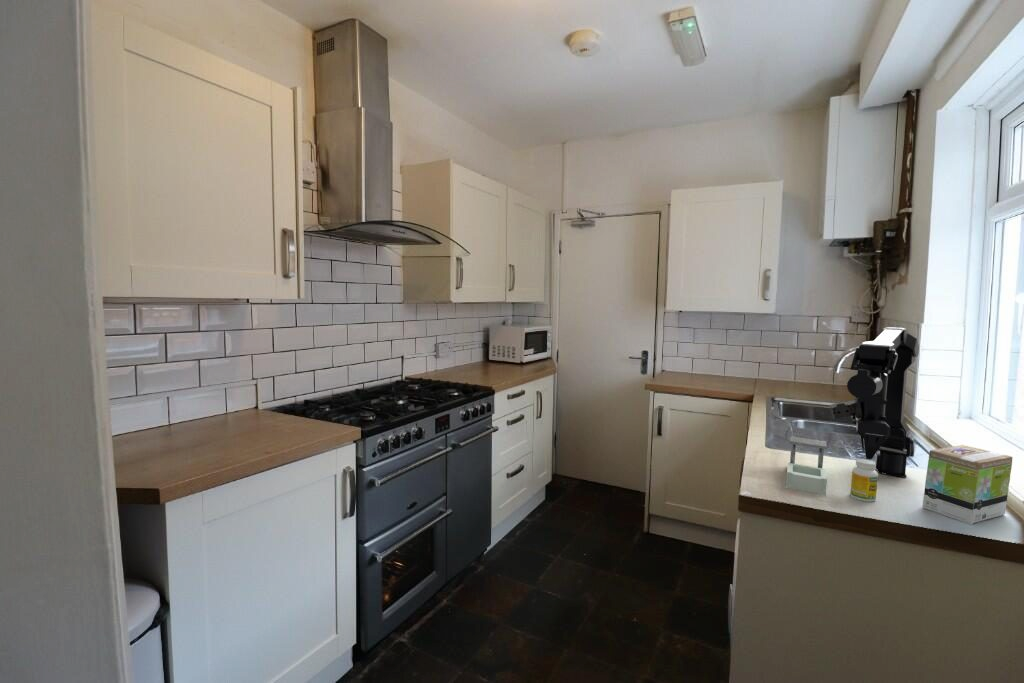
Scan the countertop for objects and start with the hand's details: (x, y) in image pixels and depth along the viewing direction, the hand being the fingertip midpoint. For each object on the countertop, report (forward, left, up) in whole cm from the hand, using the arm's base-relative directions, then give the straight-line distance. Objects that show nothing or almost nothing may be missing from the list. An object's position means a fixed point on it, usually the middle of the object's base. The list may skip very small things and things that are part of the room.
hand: (866, 454), depth 121 cm
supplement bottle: (0, 0, -12) cm, 12 cm away
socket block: (+13, -6, -12) cm, 18 cm away
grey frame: (+13, -13, -12) cm, 22 cm away
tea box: (-20, -4, -12) cm, 24 cm away
